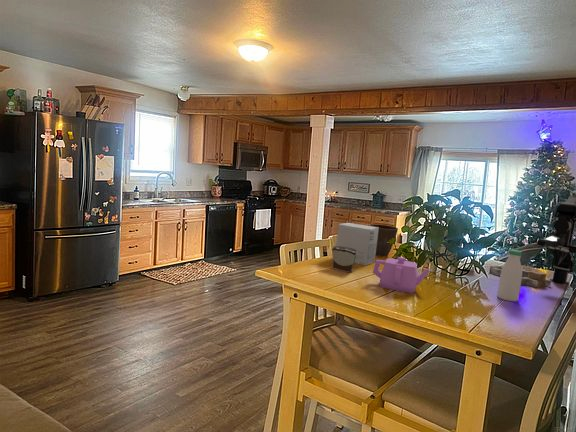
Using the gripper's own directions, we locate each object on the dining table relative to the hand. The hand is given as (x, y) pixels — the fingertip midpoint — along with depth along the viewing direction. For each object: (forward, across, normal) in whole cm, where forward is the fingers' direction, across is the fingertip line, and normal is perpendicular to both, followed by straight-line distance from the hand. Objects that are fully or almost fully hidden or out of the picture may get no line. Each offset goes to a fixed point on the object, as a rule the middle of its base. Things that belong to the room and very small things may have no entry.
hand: (556, 264), depth 191 cm
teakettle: (+12, -14, -78) cm, 80 cm away
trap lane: (+12, -18, 0) cm, 21 cm away
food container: (+12, -40, -87) cm, 97 cm away
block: (+12, -8, 0) cm, 15 cm away
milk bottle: (+12, +6, -39) cm, 41 cm away
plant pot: (+12, -68, -46) cm, 83 cm away
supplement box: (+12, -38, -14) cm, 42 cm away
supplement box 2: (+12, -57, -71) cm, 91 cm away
